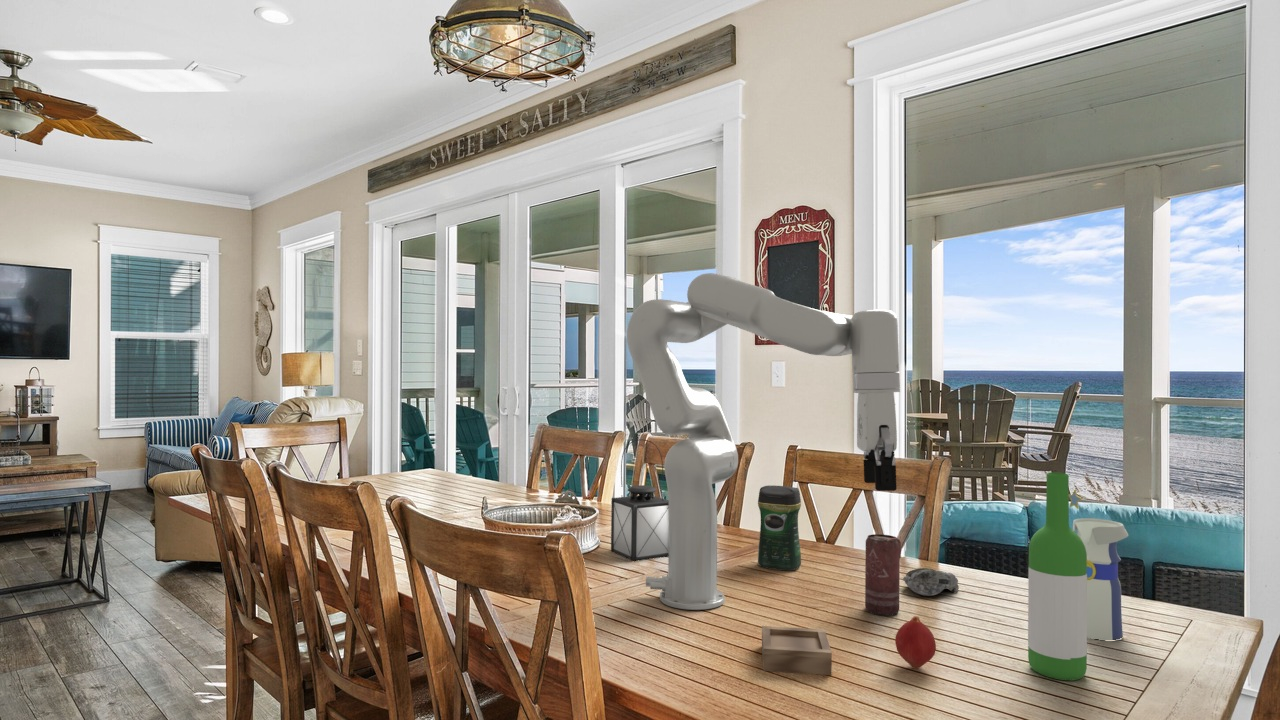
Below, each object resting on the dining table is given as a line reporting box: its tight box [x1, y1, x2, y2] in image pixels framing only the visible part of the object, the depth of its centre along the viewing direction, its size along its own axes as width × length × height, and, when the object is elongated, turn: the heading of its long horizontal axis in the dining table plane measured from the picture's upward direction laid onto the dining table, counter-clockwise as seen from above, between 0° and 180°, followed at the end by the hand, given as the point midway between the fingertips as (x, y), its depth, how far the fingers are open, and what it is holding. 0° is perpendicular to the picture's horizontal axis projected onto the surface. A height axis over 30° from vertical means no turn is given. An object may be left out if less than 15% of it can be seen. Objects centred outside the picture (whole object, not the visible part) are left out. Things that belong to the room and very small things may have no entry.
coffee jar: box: [757, 485, 802, 571], centre depth 171 cm, size 10×8×19 cm
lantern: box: [610, 439, 669, 562], centre depth 182 cm, size 11×11×28 cm
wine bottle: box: [1027, 471, 1088, 681], centre depth 112 cm, size 8×8×30 cm
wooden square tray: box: [761, 625, 833, 676], centre depth 116 cm, size 10×10×3 cm
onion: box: [894, 615, 937, 669], centre depth 113 cm, size 6×6×8 cm
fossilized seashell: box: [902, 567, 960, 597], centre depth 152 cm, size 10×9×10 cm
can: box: [864, 533, 902, 617], centre depth 140 cm, size 6×6×14 cm
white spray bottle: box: [1069, 489, 1129, 641], centre depth 129 cm, size 8×9×25 cm
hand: (879, 486), depth 124 cm, fingers open, 9 cm apart
